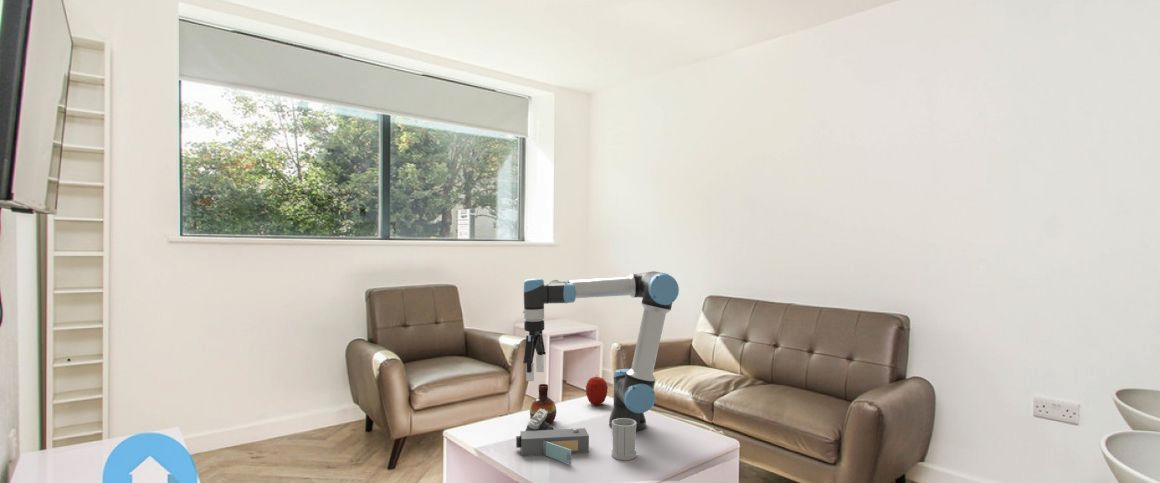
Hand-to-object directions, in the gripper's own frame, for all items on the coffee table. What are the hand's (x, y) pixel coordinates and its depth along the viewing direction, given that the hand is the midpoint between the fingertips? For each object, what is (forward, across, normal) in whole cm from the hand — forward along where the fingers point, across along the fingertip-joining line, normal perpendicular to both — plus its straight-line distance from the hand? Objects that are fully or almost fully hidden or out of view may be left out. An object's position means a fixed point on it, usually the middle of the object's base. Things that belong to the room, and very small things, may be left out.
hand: (535, 376), depth 208 cm
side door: (+25, +15, +12) cm, 31 cm away
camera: (+25, -4, 0) cm, 26 cm away
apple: (+26, -52, +14) cm, 60 cm away
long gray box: (+25, +6, +8) cm, 27 cm away
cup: (+26, +5, +34) cm, 43 cm away
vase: (+25, -22, -3) cm, 34 cm away
